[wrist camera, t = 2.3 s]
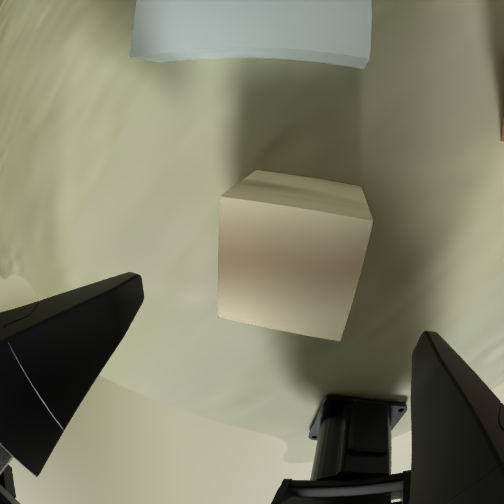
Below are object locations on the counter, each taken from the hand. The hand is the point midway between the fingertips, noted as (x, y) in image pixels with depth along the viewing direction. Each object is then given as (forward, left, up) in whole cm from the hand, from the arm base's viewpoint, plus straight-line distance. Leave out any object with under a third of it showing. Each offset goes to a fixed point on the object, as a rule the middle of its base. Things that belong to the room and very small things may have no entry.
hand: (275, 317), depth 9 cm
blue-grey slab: (+13, +3, -8) cm, 15 cm away
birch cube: (0, 0, -7) cm, 7 cm away
